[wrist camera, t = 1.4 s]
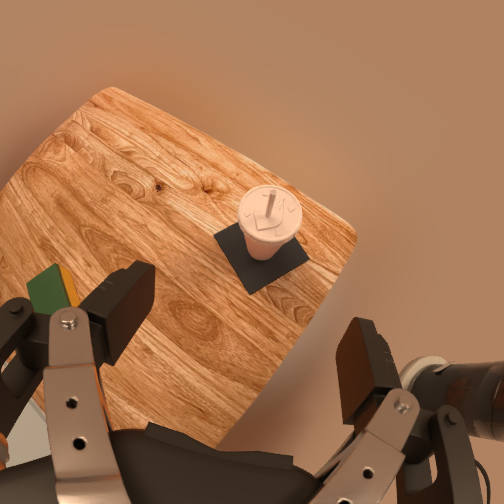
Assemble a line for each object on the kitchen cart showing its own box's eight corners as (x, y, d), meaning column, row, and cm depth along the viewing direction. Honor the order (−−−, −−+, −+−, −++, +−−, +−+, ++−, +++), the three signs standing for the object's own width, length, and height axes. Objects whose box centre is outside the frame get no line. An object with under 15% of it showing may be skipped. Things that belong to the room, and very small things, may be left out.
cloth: (309, 259, 36) (309, 258, 36) (249, 294, 34) (249, 294, 34) (271, 205, 38) (272, 204, 38) (213, 235, 36) (213, 234, 36)
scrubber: (91, 329, 31) (75, 326, 27) (60, 347, 30) (43, 345, 26) (70, 271, 33) (55, 262, 30) (41, 290, 32) (26, 283, 28)
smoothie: (226, 252, 36) (222, 195, 22) (254, 215, 38) (264, 146, 24) (269, 280, 35) (291, 237, 21) (295, 240, 37) (326, 181, 23)
